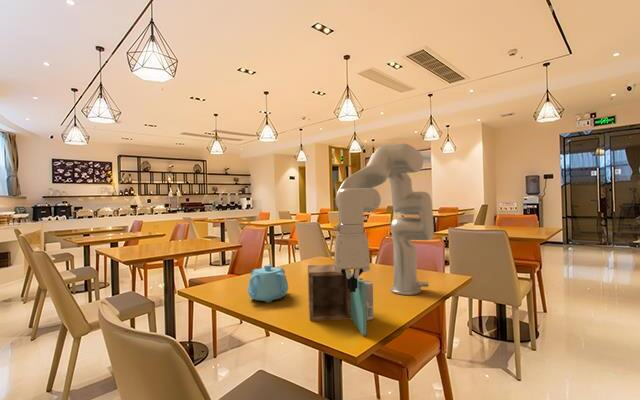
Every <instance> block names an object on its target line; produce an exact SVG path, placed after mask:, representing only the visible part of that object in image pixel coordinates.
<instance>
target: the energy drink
mask: <svg viewBox="0 0 640 400" xmlns="http://www.w3.org/2000/svg"><path fill="white" fill-rule="evenodd" d="M362 281H363V282H364V283H365V284H366V302H369V307H366V322H368V321H372V320H374V284H373V282H372V281H371V280H362Z"/></svg>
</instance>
